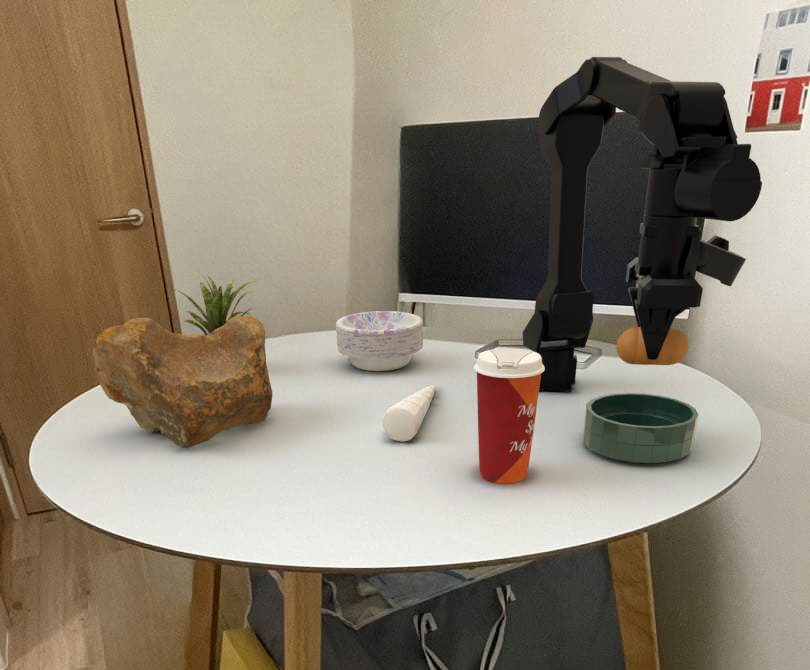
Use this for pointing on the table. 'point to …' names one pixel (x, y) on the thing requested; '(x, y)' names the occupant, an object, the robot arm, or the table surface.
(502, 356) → the paper cup
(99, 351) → the rough brown rock
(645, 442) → the green pet bowl
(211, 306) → the house plant
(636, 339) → the bread roll
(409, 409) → the unicorn horn
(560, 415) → the table surface
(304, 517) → the table surface
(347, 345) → the paper bowls
